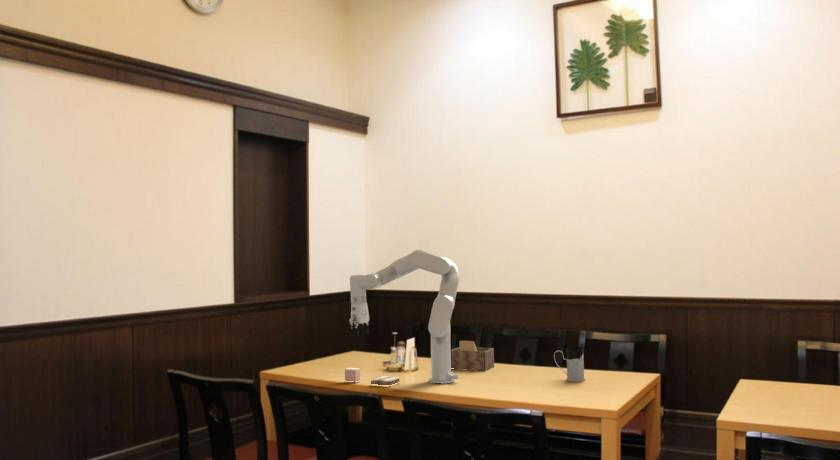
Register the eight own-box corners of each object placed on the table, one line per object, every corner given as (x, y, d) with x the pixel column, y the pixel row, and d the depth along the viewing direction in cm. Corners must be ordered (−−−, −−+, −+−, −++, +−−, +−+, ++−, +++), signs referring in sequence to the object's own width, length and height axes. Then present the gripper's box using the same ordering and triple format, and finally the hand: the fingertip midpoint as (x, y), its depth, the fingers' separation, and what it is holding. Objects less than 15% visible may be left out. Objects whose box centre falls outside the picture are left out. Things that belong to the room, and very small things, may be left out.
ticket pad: (399, 383, 319) (399, 376, 319) (389, 387, 310) (389, 380, 310) (381, 382, 323) (381, 375, 323) (370, 386, 314) (370, 379, 314)
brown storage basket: (494, 367, 358) (493, 348, 359) (485, 371, 346) (484, 351, 347) (460, 365, 367) (460, 346, 367) (450, 369, 355) (450, 350, 355)
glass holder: (585, 381, 313) (584, 349, 313) (554, 381, 316) (553, 349, 316) (584, 378, 321) (583, 346, 322) (554, 377, 324) (553, 346, 325)
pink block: (359, 381, 325) (359, 368, 325) (355, 383, 321) (355, 369, 322) (349, 380, 328) (349, 367, 328) (345, 382, 324) (344, 368, 324)
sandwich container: (485, 367, 362) (485, 339, 364) (474, 370, 349) (474, 341, 350) (471, 366, 366) (470, 338, 368) (459, 369, 353) (459, 340, 354)
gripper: (356, 301, 318) (358, 337, 317) (374, 298, 334) (375, 332, 333) (342, 301, 321) (344, 337, 320) (361, 298, 337) (362, 332, 336)
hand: (360, 335), depth 327 cm, fingers open, 9 cm apart
